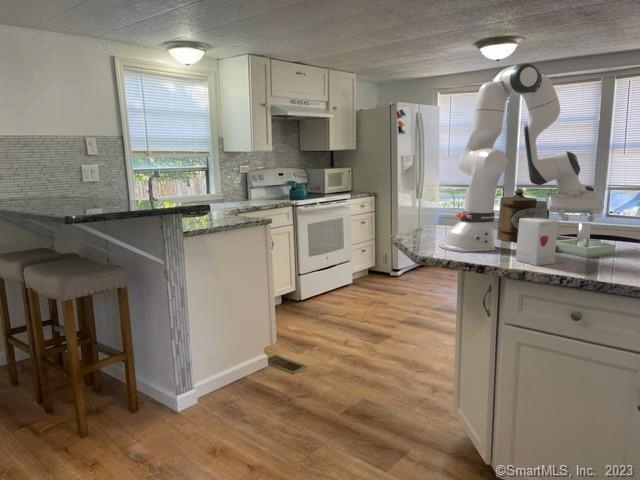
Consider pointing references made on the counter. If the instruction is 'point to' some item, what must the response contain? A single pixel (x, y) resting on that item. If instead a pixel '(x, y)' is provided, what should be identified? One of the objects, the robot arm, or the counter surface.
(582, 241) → the clear glass cylinder
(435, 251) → the counter surface
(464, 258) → the counter surface
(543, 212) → the coffee box
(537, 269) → the counter surface
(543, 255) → the supplement box
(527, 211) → the wooden container
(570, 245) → the tray
